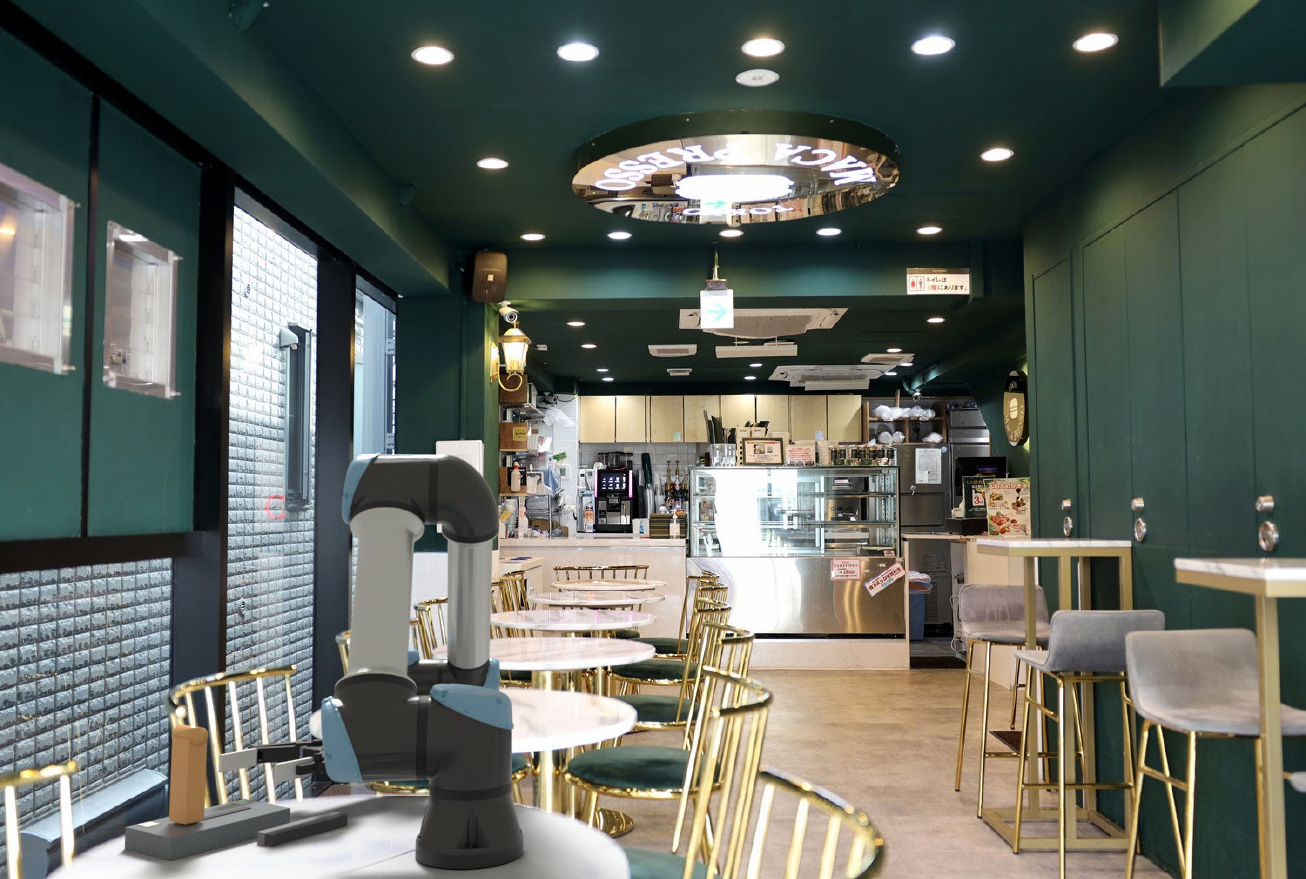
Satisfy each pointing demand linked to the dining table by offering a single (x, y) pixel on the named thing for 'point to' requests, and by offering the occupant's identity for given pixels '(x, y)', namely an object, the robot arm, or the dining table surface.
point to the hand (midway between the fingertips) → (247, 768)
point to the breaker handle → (188, 774)
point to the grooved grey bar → (302, 828)
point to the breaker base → (205, 829)
